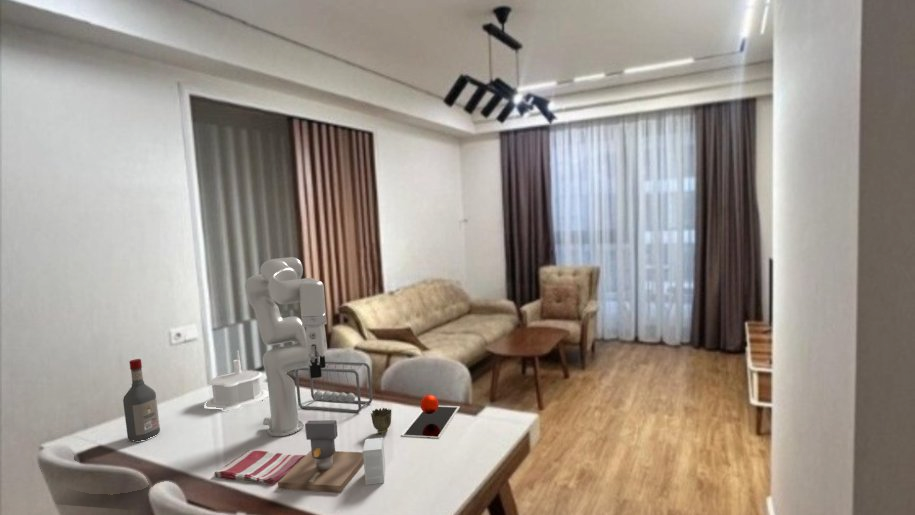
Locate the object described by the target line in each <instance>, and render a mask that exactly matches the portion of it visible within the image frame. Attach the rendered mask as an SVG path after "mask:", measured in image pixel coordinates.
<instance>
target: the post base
mask: <svg viewBox="0 0 915 515" xmlns="http://www.w3.org/2000/svg"><path fill="white" fill-rule="evenodd" d="M305 455H306V456H305V457H304V458H303V459H302V460H300V461H299V462H298V463H297V464H296V465H295V466H294V467H293V468H292V469H291V470H290V471H289V472H288V473H287V474H286V475H285V476H284V477H283V478H282V479H281V480H280V481H278V482H277V487H278V488H277V489H279V490H297V491H310V492H328V493H342V492H343V491H344V490H345V488H346V487H348V485H349V483H350V482H351V481H352V479H353V478H354V477H355V475H356V474H357V473H358V472H359V470H360V469H361V468H362V467H363V466H364V460H363V451H362V452H361V451H339V450H338V451H337V450H335V453H334V454H333V455H332V456H330V457H327V458H323V459H316V458H313V457H312V451H311V450H309V452H308V453H307V454H305Z"/></svg>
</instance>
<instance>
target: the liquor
mask: <svg viewBox="0 0 915 515" xmlns="http://www.w3.org/2000/svg"><path fill="white" fill-rule="evenodd" d="M142 368H143V365H142V359H141V358H136V359H131V360H129V370H130V372H131V373H130V374H131V387H130V388H129V389H128V391H127V392H126V394H125V395H124V396H123V399H122V403H123V410H124V419H125V426H126V435H127V440H128V441H129V440H134V441H141V440H146V439H148V438H150V437H153V436H155V435H157V434H158V433H159V434H160V432H161V426H160V419H159V409H158V401H157V393H156V391H155V390H154V389H153V388H151V387H150V386H148V385H147V384H146V383H145V381H144V377H143V370H142ZM159 434H158V435H159ZM155 437H156V436H155ZM153 438H154V437H153ZM146 441H147V440H146Z"/></svg>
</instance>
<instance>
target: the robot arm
mask: <svg viewBox="0 0 915 515" xmlns="http://www.w3.org/2000/svg"><path fill="white" fill-rule="evenodd" d="M259 270H260V274H256V275H253V276H250V277H248V278H247V279H246V280H245V284H244V291H245V295H246V297H247V298H246V299H247V300H248V302H249V304H250V305H251V307H252V309H253V311H254V314H255V317H256V321H257V325H258V329H259V333H260V337H261V340H262V342H263V344H264V345H265V346H276V345H280V344H286V343H289V342H291V343H292V344H288V345H283V346H279V347H275V348H272V349H269V350H267V351H266V352H265V353H264V354H263V356H262V364H263V369H264V371H265V376H266V381H267V388H268V389H267V391H268V392H269V398H268V400H269V408H270V417H264V418H263V422H262V425H263V426H268V429H267V434H268V435H270V436H271V435H272V437H285V435H286V436H289V434H290V435H293V434H295V432H296V433H297V431H298V432H300V431H301V430H302V429H303V427H304V423H303V421H301V420H299V417H298V415H299V414H298V405H297V404H298V402H297V395H296V394H297V391H296V384H295V383H296V382H295V380H294V379H293V378H292V377H291V376H289V375H288V372H291V371H294V370H295V371H296V369H300V368H303V367H309V364H310V373H311V378H312V379H317V378H318V379H320V378H322V377H323V376H322V374H323V373H322V371H321V368H326V367H327V365H326V364H325V361H326V357H325V356H326V354H327V351H328V343H327V335H326V334H327V333H326V328H325V325H327V324H328V323H327V310H326V309H327V308H326V299H325V298H326V297H325V296H326V295H325V286H324V282H322V281H320V280H317V279H315V278H312V277H304V278H302V276H303V273H304V272H303V271H304V268H303V264H302V261H301V260H300V259H298V258H297V257H294V256H289V257H288V256H287V257H280V258H279V257H278V258H272V259H269V260H266V261H264V262H263V263H262V264H261V267H260V269H259ZM269 296H270V297H271V298H269ZM276 303H277V304H279V305H283V306H284V305H292V304H298V303H300V304H299V305H300V315H301V318H300V317H298V316H287V317H282V316H281V313H280V308H279V306H278V305H277V304H276ZM300 429H301V430H300Z"/></svg>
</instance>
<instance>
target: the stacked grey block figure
mask: <svg viewBox="0 0 915 515" xmlns="http://www.w3.org/2000/svg"><path fill="white" fill-rule="evenodd" d="M337 422H338V421H337V420H336V419H335V420H334V419H332V420H331V419H328V420H319V419H318V420H315V419H314V420H307V421H306V422H305V423H304V425H305V438H306V440H309V441H310V448H311V449H310V451H312V457H313V458H316V459H323V458H327V457H330V456H332V455H333V454H334V453H335V451H336V446H335V445H336V444H335V440H336V439H337V437H338V424H337Z"/></svg>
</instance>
